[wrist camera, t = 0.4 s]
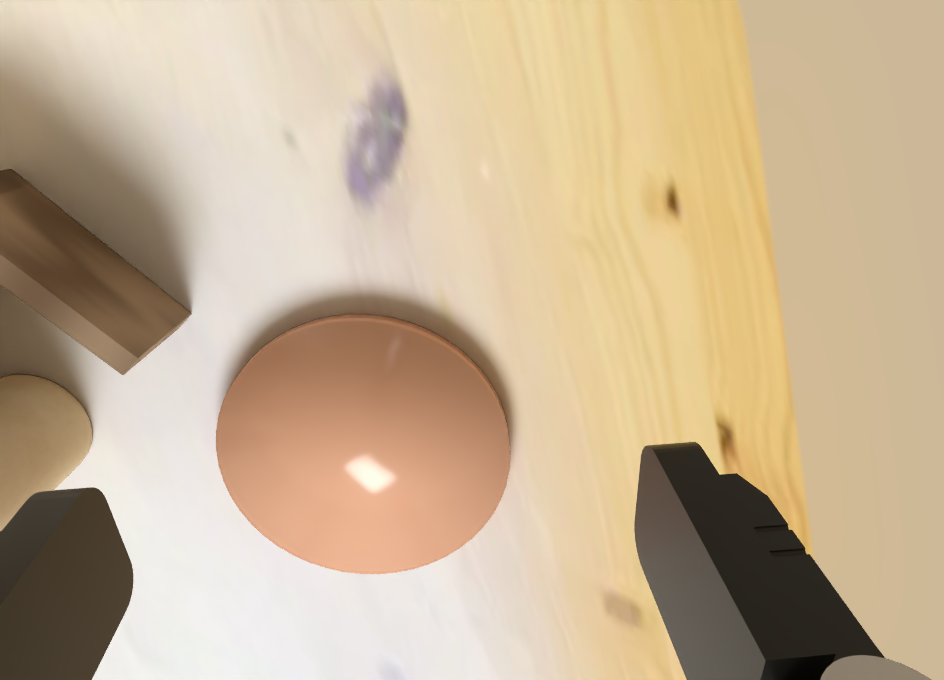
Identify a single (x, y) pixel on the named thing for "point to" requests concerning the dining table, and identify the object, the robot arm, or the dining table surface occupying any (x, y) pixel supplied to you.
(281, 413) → the saucer
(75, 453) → the candle
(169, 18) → the dining table surface
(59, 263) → the wooden frame
